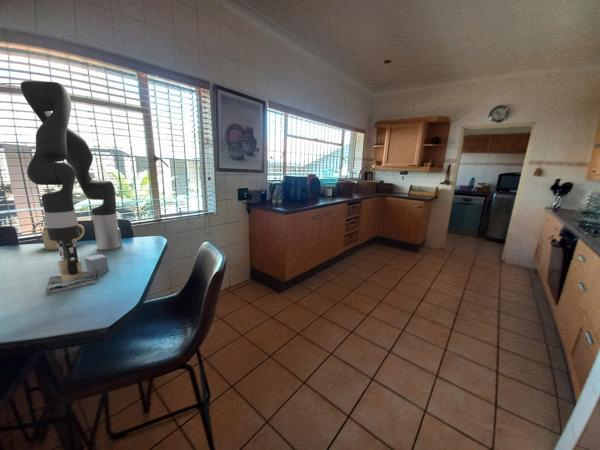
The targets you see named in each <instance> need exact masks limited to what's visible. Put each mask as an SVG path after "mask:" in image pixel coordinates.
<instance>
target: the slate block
mask: <svg viewBox="0 0 600 450" xmlns="http://www.w3.org/2000/svg"><path fill="white" fill-rule="evenodd" d="M107 257H108V256H106V255H104V254H102V253H99V254H98V253H97V254H94V255H90V256H87V257H84V262H85V266H86V272H87V273H92V271H96V270H97V269H98V272H97V275H98V274H101V273H105V272H108V271H109V263H108V258H107Z"/></svg>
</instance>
